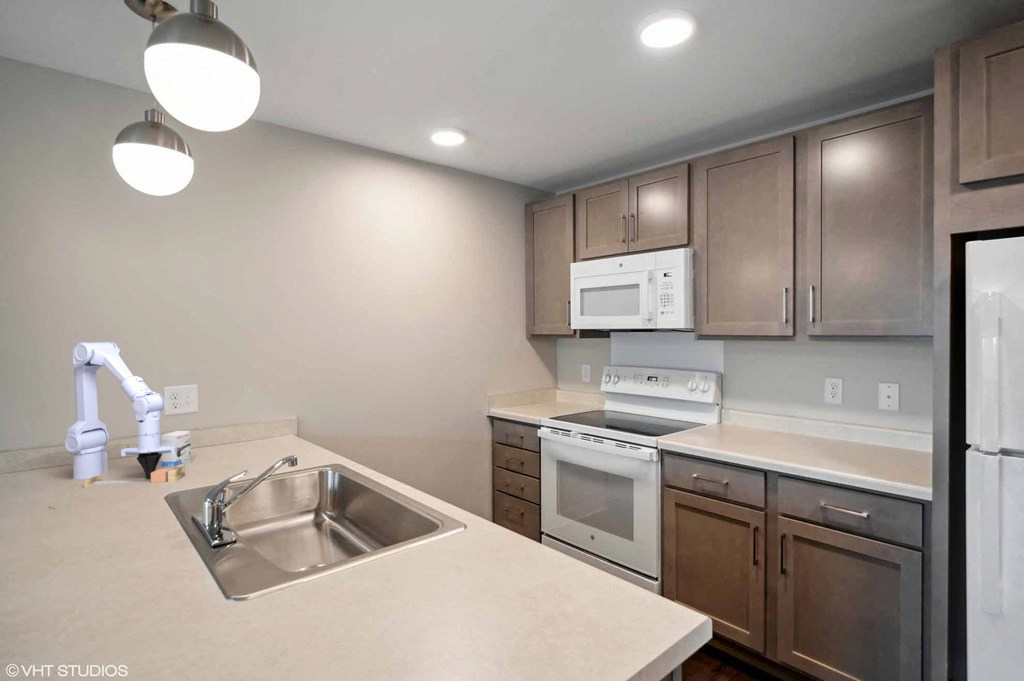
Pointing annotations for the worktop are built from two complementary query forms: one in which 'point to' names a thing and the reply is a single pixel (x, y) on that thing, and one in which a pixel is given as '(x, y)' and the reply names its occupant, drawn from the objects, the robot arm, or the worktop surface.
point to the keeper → (160, 475)
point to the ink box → (183, 448)
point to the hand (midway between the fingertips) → (150, 477)
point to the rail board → (172, 477)
